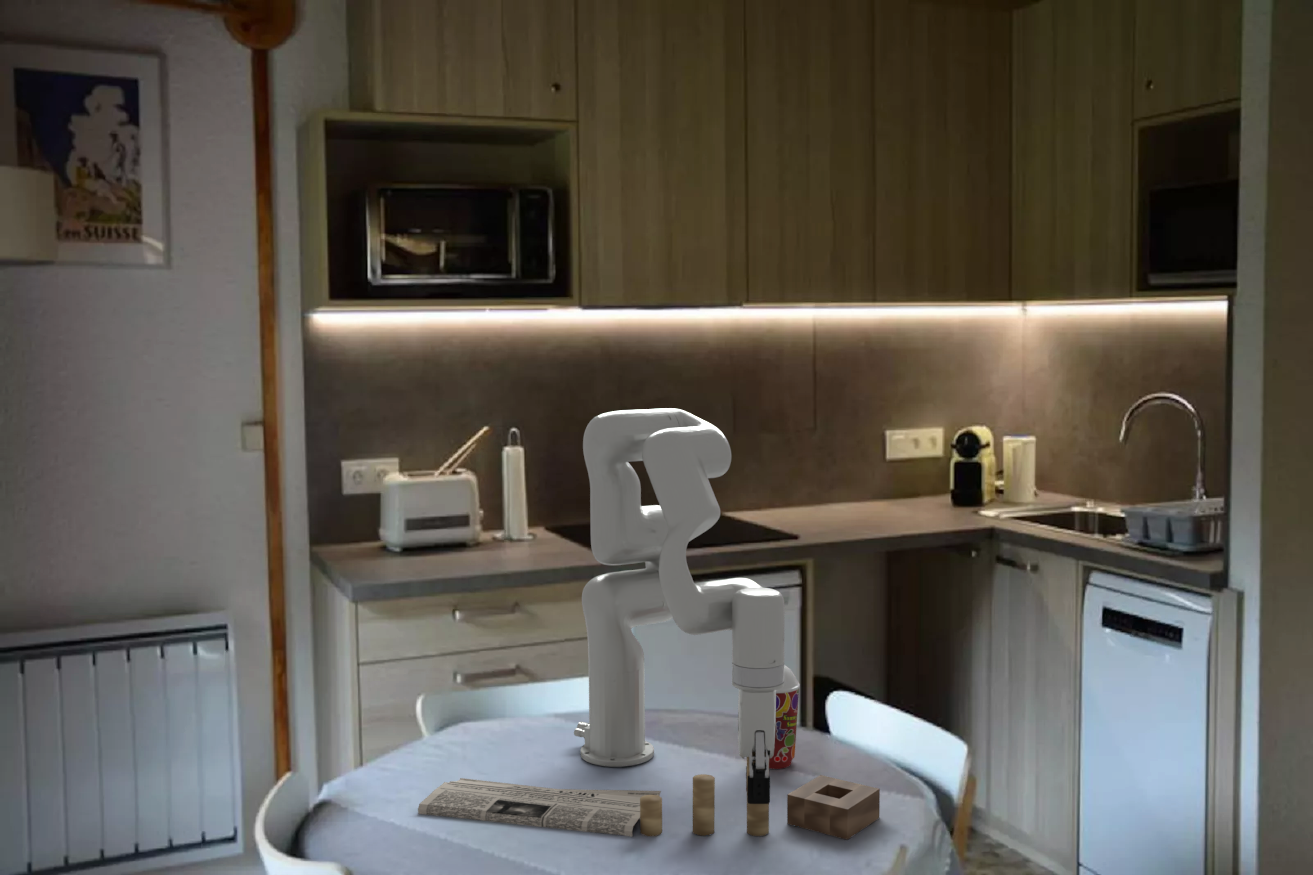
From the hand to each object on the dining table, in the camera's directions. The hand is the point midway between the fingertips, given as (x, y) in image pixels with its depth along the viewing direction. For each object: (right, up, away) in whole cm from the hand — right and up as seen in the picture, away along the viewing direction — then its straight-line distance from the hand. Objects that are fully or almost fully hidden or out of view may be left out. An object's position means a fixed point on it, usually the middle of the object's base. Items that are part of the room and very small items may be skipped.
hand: (757, 797), depth 189 cm
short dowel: (-16, -5, +1) cm, 16 cm away
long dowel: (0, -5, +1) cm, 5 cm away
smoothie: (+5, -3, +29) cm, 30 cm away
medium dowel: (-8, -5, +1) cm, 9 cm away
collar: (+12, -5, +4) cm, 13 cm away
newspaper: (-32, -5, +9) cm, 34 cm away
